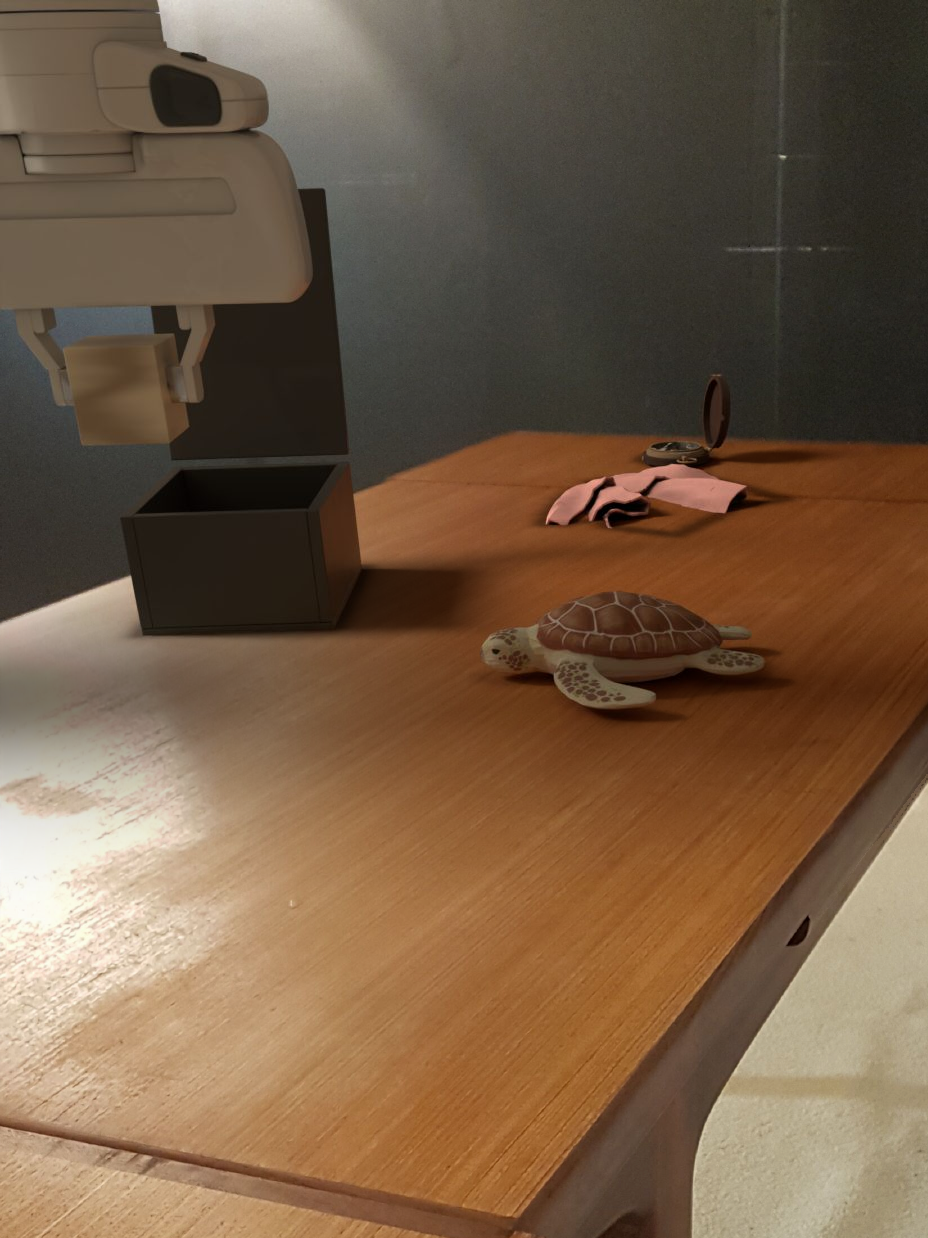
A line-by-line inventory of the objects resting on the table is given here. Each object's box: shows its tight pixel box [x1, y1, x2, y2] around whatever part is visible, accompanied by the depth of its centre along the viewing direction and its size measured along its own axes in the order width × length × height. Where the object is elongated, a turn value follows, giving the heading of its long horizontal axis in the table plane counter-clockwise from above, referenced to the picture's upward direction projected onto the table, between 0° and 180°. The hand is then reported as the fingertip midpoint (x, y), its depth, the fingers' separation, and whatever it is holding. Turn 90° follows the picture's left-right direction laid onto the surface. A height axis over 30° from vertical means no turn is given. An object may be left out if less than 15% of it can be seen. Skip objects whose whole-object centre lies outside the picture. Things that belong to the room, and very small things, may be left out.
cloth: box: [545, 464, 748, 529], centre depth 135 cm, size 20×22×2 cm
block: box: [62, 333, 189, 446], centre depth 85 cm, size 5×5×5 cm
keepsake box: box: [119, 461, 363, 636], centre depth 111 cm, size 16×13×8 cm
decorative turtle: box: [479, 590, 765, 710], centre depth 96 cm, size 18×17×5 cm
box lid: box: [149, 187, 350, 461], centre depth 112 cm, size 16×13×1 cm
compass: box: [641, 373, 731, 467], centre depth 148 cm, size 8×8×7 cm
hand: (131, 402), depth 85 cm, fingers closed on block, 4 cm apart
